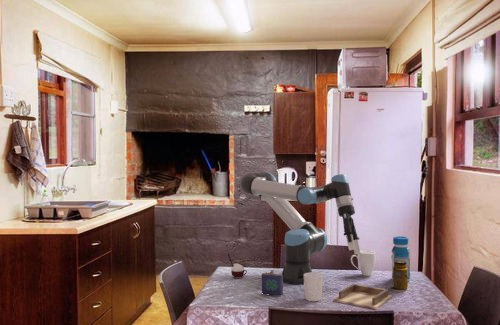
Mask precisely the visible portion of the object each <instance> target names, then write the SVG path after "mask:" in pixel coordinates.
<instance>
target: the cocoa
mask: <svg viewBox="0 0 500 325" xmlns="http://www.w3.org/2000/svg"><path fill="white" fill-rule="evenodd" d="M226 254H227V256H228V260H229V262H230V265H231V272H230V273H231V276H232V277H233V276H234V277H241V278H243V277H244V276H245V275H246V274H247V272H248V270H247V269H245V266H243V265H242V264H240V263H234V264H233V262H232V258H231V256H230V254H229V252H227V253H226ZM243 275H244V276H243ZM242 276H243V277H242ZM234 277H233V278H234Z"/></svg>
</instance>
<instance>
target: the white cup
mask: <svg viewBox="0 0 500 325" xmlns="http://www.w3.org/2000/svg"><path fill="white" fill-rule="evenodd" d="M323 277H324V276H323V273H320V272H313V271H312V272H310V273H305V274H304V284H303V289H304V290H303V292H304V299H305V301H308V302H309V301H310V302H319V301H322V300H323V299H322V298H323V297H322V296H323V281H324V280H323V279H324V278H323Z"/></svg>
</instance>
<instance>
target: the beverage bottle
mask: <svg viewBox="0 0 500 325" xmlns="http://www.w3.org/2000/svg"><path fill="white" fill-rule="evenodd" d="M392 238H393V240H392V241H393V242H392V244H393V247H392V248H391V257H390V258H391V268H392V269H391V270H392V271H391V280H393V267H394V261H397V260H401V261H406V263H407V264H406V265H407V270H408V274H407V275H408V282H410V280H411V272H410V270H411V268H410V265H411V262H410V261H411V256H410V255H411V251H410V249H409V246H408V245H409V238H408V237H406V236H401V235H400V236H399V235H398V236H394V237H392Z"/></svg>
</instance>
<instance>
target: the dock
mask: <svg viewBox="0 0 500 325" xmlns="http://www.w3.org/2000/svg"><path fill="white" fill-rule="evenodd" d="M392 298H393V295H391V294H389V289H387V288H386V289H385V288H380V287H379V288H378V287H373V286H368V285H361V284H355V283H352V284H351V285H349V286H347V287H346V288H343V289H341V290H340V291H338V296H336V297H334V298H333V299H332V300H333V302H336V303H342V304H345V305H350V306H351V305H352V306H356V307H361V308H362V307H363V308H365V309H366V308H368V309H371V310H377V309H379V308H380V307H382V306H383V305H384V304H386V303H387V302H389V301H390V300H391V299H392Z"/></svg>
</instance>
